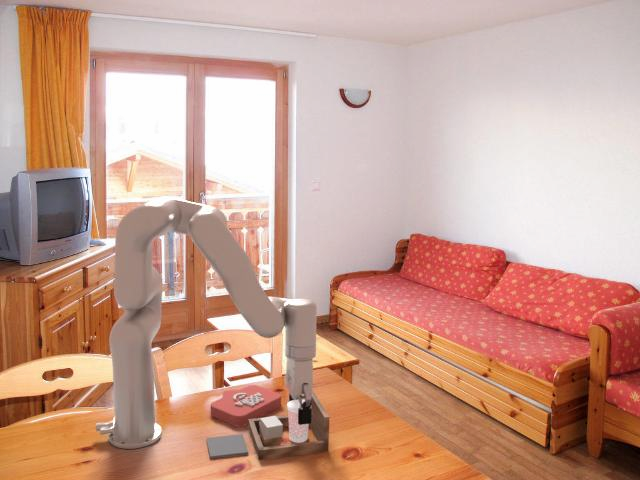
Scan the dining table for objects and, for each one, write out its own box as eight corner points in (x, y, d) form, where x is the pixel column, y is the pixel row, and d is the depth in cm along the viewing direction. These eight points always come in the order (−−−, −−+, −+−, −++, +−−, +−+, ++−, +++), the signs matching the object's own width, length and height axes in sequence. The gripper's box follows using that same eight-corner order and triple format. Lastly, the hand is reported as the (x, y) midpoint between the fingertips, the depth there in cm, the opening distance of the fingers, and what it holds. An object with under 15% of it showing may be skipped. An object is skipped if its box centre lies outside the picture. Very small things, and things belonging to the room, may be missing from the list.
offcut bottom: (264, 451, 147) (264, 439, 146) (260, 438, 153) (260, 427, 152) (280, 449, 148) (280, 437, 148) (275, 437, 154) (275, 426, 153)
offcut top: (267, 439, 147) (267, 427, 146) (260, 429, 151) (260, 418, 151) (282, 436, 148) (282, 424, 148) (275, 426, 153) (275, 415, 152)
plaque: (245, 379, 180) (284, 393, 171) (245, 391, 181) (284, 406, 172) (200, 399, 166) (239, 415, 157) (200, 412, 166) (239, 429, 158)
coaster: (210, 458, 142) (210, 456, 142) (206, 440, 151) (206, 437, 151) (248, 454, 145) (248, 452, 145) (242, 436, 153) (242, 433, 153)
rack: (258, 459, 142) (259, 424, 141) (248, 427, 158) (248, 395, 156) (328, 451, 147) (329, 416, 145) (311, 421, 162) (312, 389, 161)
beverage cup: (296, 429, 157) (297, 378, 155) (315, 437, 154) (316, 385, 151) (281, 439, 152) (282, 386, 150) (300, 446, 149) (301, 393, 146)
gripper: (278, 339, 156) (278, 401, 159) (293, 363, 140) (293, 432, 143) (306, 336, 158) (305, 398, 161) (325, 361, 142) (323, 429, 145)
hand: (299, 414), depth 152 cm, fingers open, 9 cm apart
